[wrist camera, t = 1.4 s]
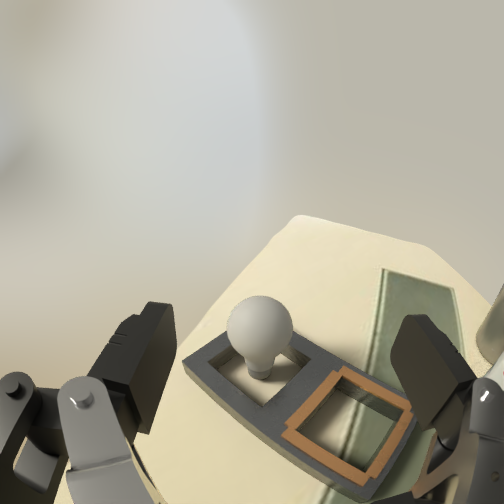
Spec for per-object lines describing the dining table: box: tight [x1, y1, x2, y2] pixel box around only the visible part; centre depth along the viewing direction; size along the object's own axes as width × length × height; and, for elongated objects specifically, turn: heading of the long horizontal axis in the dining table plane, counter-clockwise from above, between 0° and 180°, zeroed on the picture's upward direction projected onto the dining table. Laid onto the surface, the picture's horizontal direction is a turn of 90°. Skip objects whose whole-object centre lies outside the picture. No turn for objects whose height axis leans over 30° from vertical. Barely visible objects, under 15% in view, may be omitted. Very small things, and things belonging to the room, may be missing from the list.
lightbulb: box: [227, 296, 293, 379], centre depth 26 cm, size 6×6×11 cm
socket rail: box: [182, 331, 418, 503], centre depth 25 cm, size 12×24×3 cm, turn 46°
